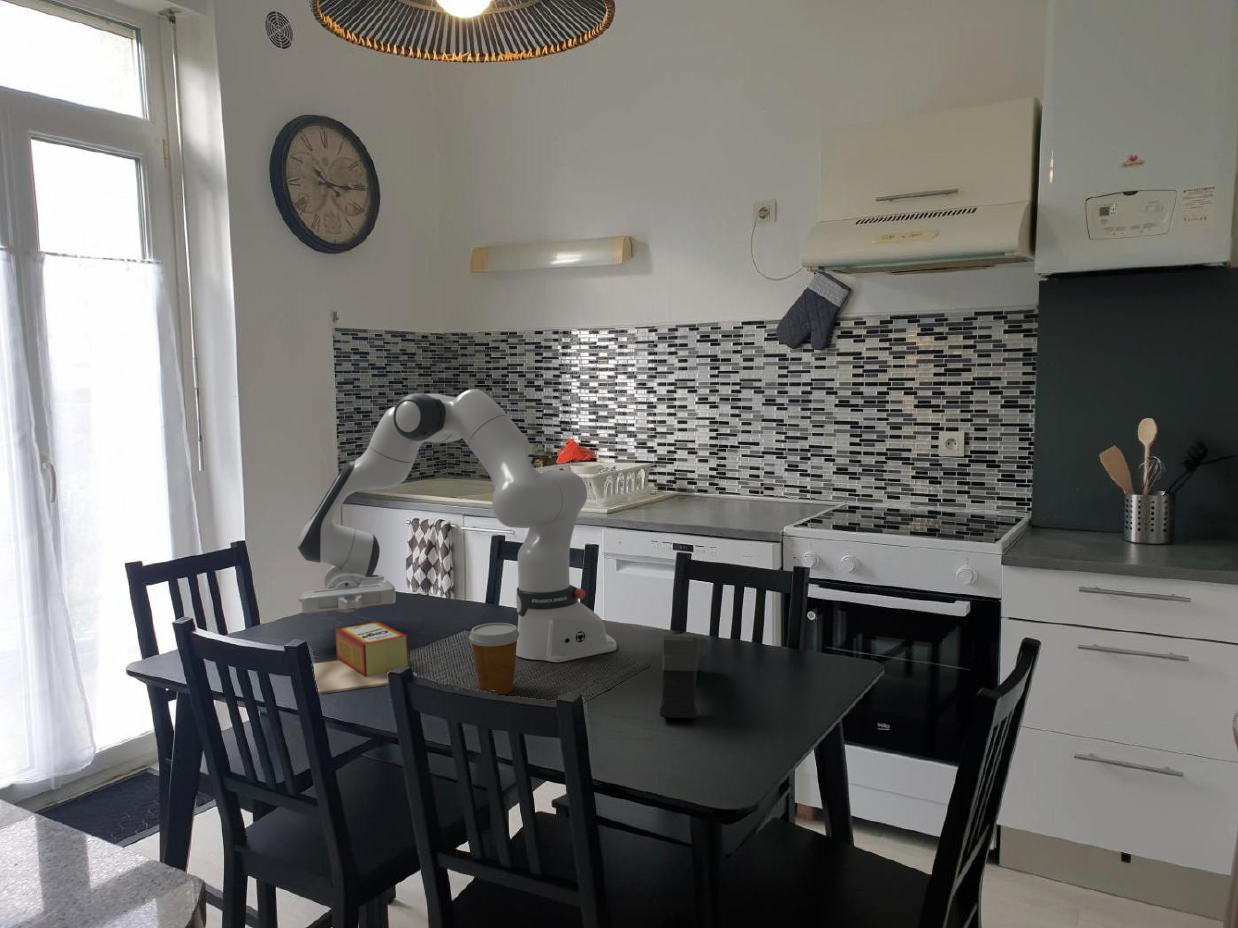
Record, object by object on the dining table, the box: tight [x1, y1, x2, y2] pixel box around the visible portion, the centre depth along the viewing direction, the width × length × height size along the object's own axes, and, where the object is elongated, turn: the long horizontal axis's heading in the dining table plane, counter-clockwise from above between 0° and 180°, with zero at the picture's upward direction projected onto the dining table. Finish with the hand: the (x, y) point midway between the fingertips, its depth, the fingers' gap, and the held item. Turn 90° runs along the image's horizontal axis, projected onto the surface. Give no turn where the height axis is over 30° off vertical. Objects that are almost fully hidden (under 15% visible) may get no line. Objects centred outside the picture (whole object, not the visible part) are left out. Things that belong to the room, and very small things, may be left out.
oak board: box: [312, 659, 389, 695], centre depth 189 cm, size 18×19×1 cm
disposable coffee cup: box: [468, 622, 519, 695], centre depth 177 cm, size 10×10×12 cm
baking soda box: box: [334, 620, 410, 677], centre depth 194 cm, size 10×6×16 cm
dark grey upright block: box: [659, 631, 709, 719], centre depth 173 cm, size 7×29×15 cm, turn 170°
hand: (351, 605), depth 201 cm, fingers closed
